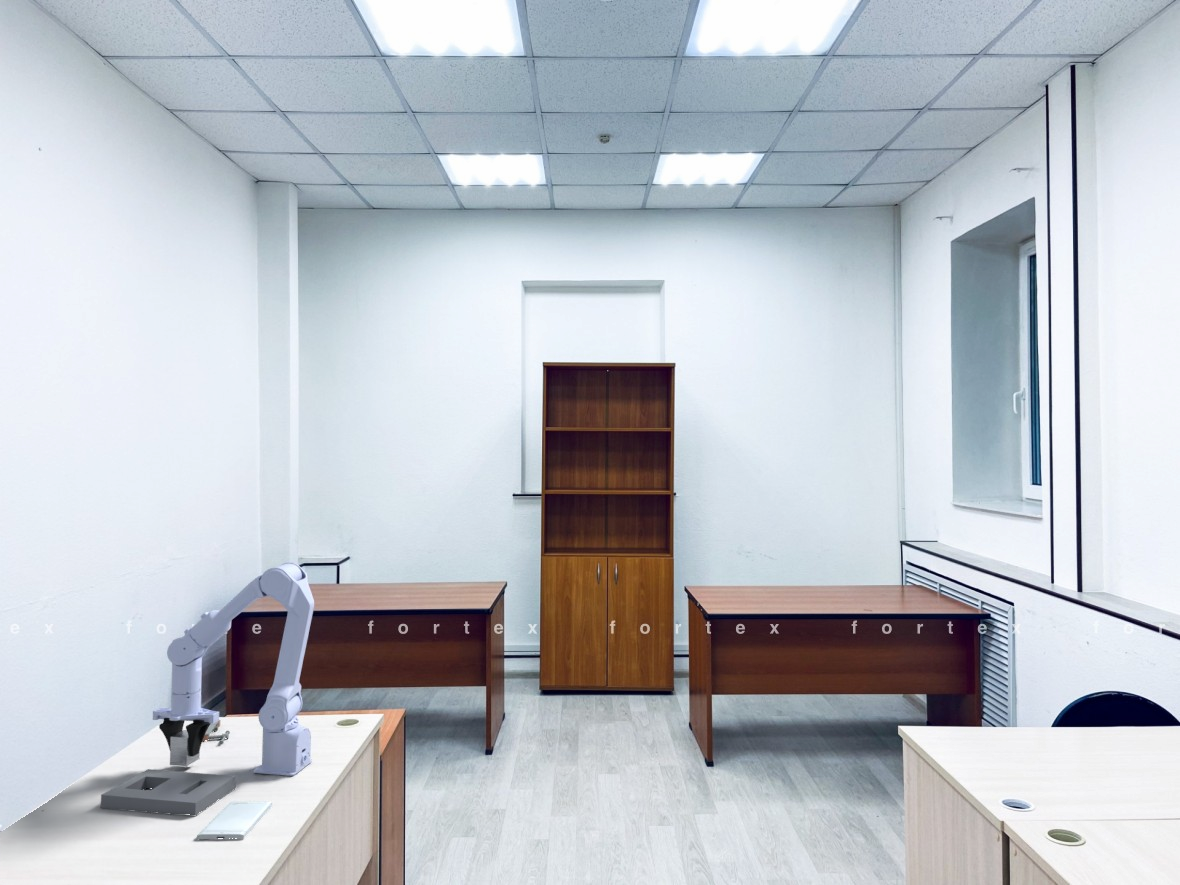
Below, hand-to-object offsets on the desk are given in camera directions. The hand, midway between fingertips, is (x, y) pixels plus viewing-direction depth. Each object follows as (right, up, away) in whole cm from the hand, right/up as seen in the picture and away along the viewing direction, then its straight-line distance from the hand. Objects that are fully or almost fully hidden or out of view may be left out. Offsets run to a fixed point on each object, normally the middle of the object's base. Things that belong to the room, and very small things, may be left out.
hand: (184, 754), depth 157 cm
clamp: (-5, -4, +19) cm, 20 cm away
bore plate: (+5, -3, -14) cm, 15 cm away
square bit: (0, -2, 0) cm, 2 cm away
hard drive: (+23, -3, -23) cm, 33 cm away
